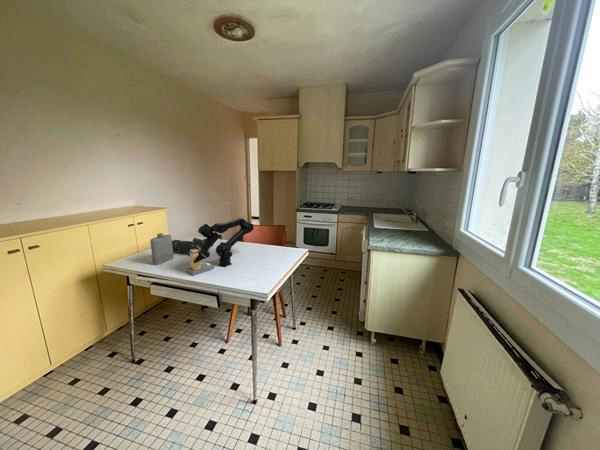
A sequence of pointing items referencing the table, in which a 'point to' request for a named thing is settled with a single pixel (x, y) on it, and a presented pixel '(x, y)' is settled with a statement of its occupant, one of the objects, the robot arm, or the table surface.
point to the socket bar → (204, 268)
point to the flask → (161, 248)
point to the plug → (192, 257)
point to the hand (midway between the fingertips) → (192, 260)
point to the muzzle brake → (182, 246)
